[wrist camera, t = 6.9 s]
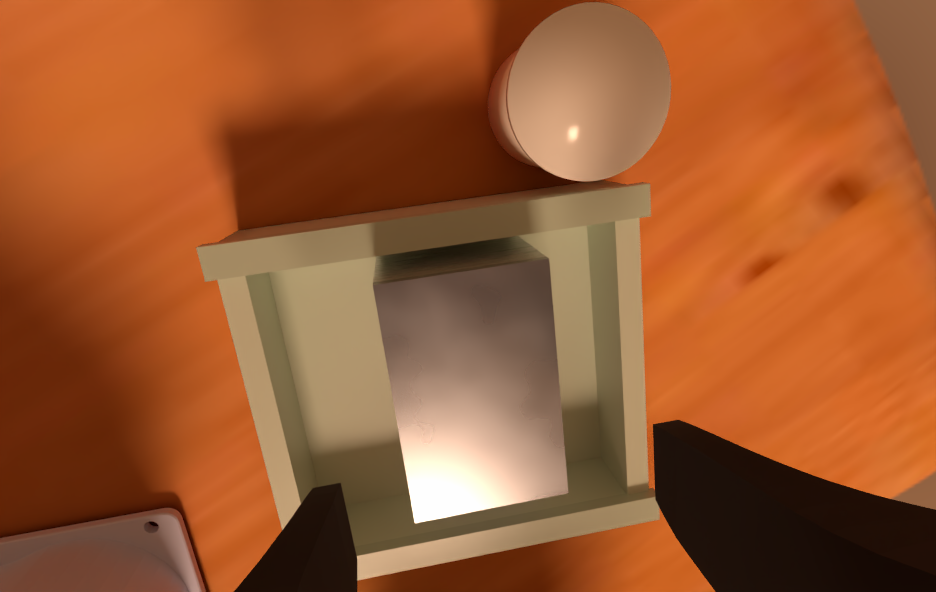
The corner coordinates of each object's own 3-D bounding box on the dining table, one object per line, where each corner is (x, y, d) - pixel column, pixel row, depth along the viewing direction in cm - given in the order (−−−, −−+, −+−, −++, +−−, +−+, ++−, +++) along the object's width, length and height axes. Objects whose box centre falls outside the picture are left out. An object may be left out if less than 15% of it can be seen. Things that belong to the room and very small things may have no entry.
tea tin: (409, 438, 21) (415, 522, 17) (377, 249, 19) (372, 285, 15) (529, 416, 22) (568, 493, 17) (510, 230, 20) (549, 258, 15)
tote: (304, 525, 22) (288, 594, 19) (231, 228, 19) (196, 247, 16) (620, 464, 24) (659, 519, 20) (605, 176, 20) (649, 183, 17)
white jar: (489, 181, 20) (517, 191, 15) (474, 42, 18) (499, 12, 14) (612, 164, 20) (672, 169, 16) (606, 27, 19) (669, -7, 15)
